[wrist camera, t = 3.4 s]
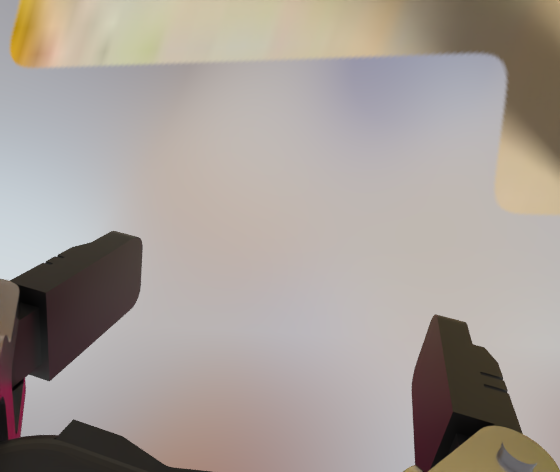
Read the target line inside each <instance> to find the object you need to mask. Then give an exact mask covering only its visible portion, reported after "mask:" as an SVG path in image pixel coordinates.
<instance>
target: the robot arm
mask: <svg viewBox="0 0 560 472" xmlns="http://www.w3.org/2000/svg"><path fill="white" fill-rule="evenodd" d="M141 266H142V241H141V239H140V238H139V237H135V236H131V235H128V234H124V233H120V232H116V231H111V232H110V233H108V234H106V235H104V236H102V237H100V238H99V239H97V240H95V241H93V242H91V243H87V244H83V245H79V246H75V247H72V248H70V249H68V250H66V251H64V252H62V253H61V254H59V255H58V257H53V258H51V259H50V260H48V261H46V263H42V264H40V265H38V266H36V267H34V268H33V269H31V270H29V271H27V272H25V273H23V274H21V275H20V276H18V277H16V278H14V279H12V280H10V281H7V280H4V279H0V472H210V471H200V470H191V469H181V468H180V469H179V468H172V467H168V466H166V465H164V464H162V463H161V462H159V461H158V460H156V459H155V458H154V457H152V456H151V455H149V454H148V453H146V452H145V451H143V450H141V449H140V448H139V447H137V446H136V445H134V444H133V443H131V442H130V441H128V440H127V439H126V438H124V437H122V436H120V435H117V434H114V433H111V432H108V431H105V430H102V429H99V428H97V427H94V426H91V425H88V424H85V423H82V422H79V421H76V420H72V422H71V423H70V424H69V425H68V426H67V427H66V428H65V429H64V430H63V431H62V432H61V434H59V435H36V436H26V437H21V428H22V420H23V411H24V402H25V393H26V385H25V377H26V376H27V375H33V376H36V377H38V378H41V379H44V380H47V381H50V380H52V379H53V378H54V377H55V376H56V375H57V374H58V373H59V372H61V371H62V370H63V369H64V368H65V367H66V366H67V365H68V364H70V363H71V362H72V361H73V360H74V359H75V358H76V357H77V356H79V355H80V354H81V353H82V352H83V351H84V350H85V349H86V348H88V347H89V346H90V345H91V344H92V343H93V342H94V341H95V340H96V339H98V338H99V337H100V336H101V335H102V334H103V333H105V332H106V331H107V330H108V329H109V328H110V327H111V326H112V325H113V324H115V323H116V322H117V321H118V320H119V319H120V318H121V317H123V315H124V314H126V313H127V312H128V311H129V310H130V309H131V308H132V307H133V306H134V305H135V303H136V301H137V299H138V296H139V292H140V286H141ZM412 406H413V426H414V449H415V465H414V466H411V467H409V468H407V469H406V470H405V471H403V472H560V470H559V468H558V466H557V464H556V463H555V461H554V460H553V458H552V457H551V456H550V455H549V454H548V453H547V452H546V451H545V450H544V449H543V448H542V447H541V446H540V445H539V444H537V443H536V442H535V441H533V440H531V439H530V438H529V437H527V436H525V435H523V433H522V431H521V428H520V425H519V422H518V419H517V416H516V413H515V411H514V408H513V405H512V402H511V399H510V396H509V394H508V393H507V388H506V385H505V382H504V381H503V377H502V373H501V371H500V368H499V365H498V363H497V361H496V360H495V359H494V358H493V357H492V356H491V355H490V354H489V352H488V351H487V350H486V349H485V348H484V347H480V346H476V345H473V344H472V341H471V337H470V334H469V330H468V326H467V324H466V322H462V321H459V320H455V319H451V318H447V317H443V316H439V315H434V316H433V318H432V320H431V322H430V325H429V328H428V331H427V334H426V337H425V340H424V343H423V346H422V349H421V352H420V354H419V357H418V360H417V363H416V366H415V370H414V374H413V381H412Z"/></svg>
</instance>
